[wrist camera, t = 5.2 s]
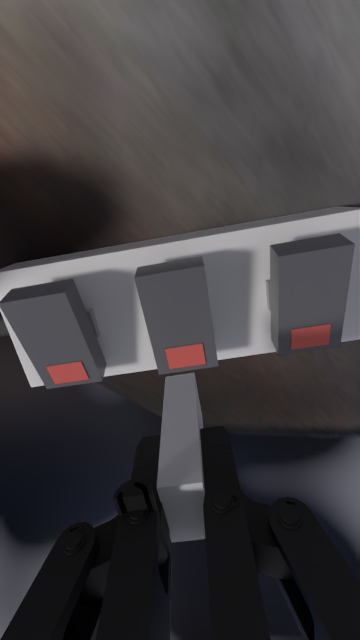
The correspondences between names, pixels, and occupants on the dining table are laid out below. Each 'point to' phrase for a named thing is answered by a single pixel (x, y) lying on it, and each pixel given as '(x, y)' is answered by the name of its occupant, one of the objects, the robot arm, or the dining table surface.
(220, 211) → the dining table surface
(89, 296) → the power strip
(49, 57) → the dining table surface
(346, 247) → the rocker
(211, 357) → the rocker
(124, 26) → the dining table surface
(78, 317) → the rocker
